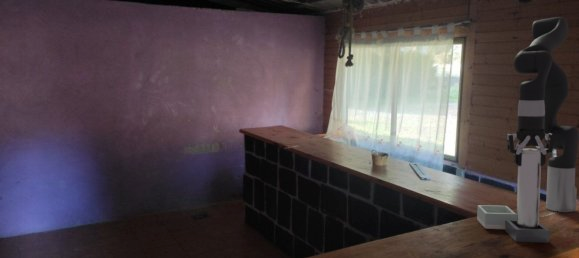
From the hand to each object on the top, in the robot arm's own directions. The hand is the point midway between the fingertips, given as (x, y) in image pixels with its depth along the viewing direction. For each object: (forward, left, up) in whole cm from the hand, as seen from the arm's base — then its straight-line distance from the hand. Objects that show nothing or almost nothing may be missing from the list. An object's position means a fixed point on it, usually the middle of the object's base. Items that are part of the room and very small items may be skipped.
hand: (529, 165), depth 141 cm
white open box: (+6, -12, -24) cm, 27 cm away
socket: (0, 0, -24) cm, 24 cm away
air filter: (0, 0, -20) cm, 20 cm away
